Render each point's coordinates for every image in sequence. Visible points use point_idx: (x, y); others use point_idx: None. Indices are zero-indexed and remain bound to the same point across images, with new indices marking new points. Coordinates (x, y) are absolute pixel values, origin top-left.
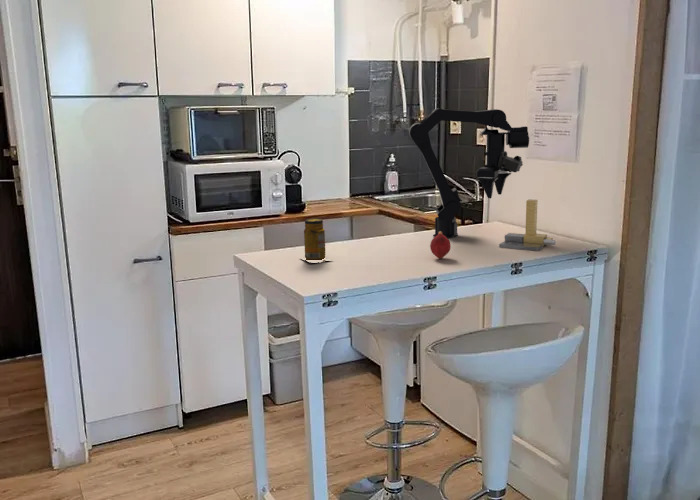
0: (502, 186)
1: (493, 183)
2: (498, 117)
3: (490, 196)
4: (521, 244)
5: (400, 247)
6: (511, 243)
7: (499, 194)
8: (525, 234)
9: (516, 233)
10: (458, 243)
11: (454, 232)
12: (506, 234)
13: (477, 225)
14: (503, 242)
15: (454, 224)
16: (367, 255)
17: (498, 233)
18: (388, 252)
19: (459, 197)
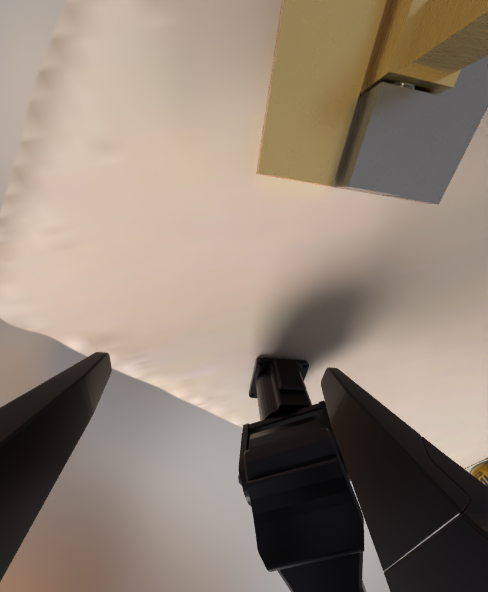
0: (47, 407)
1: (471, 508)
2: None
3: (345, 380)
4: (458, 104)
5: (408, 412)
6: (434, 156)
7: (109, 360)
8: (445, 76)
9: (360, 148)
10: (367, 328)
11: (295, 365)
12: (382, 192)
13: (93, 347)
14: (411, 193)
15: (303, 385)
16: (471, 430)
17: (195, 257)
18: (451, 414)
19: (274, 486)
